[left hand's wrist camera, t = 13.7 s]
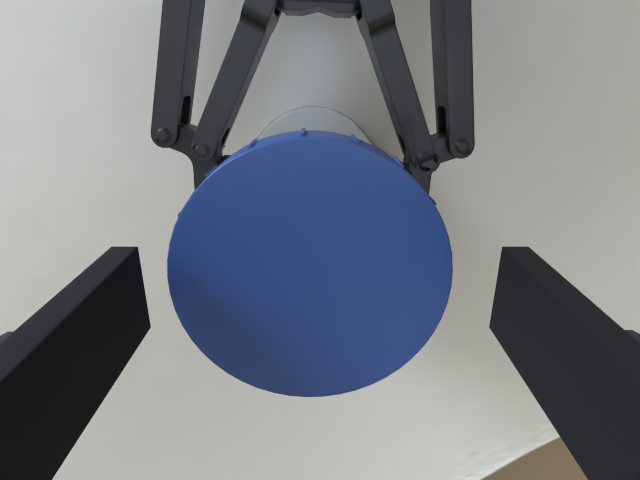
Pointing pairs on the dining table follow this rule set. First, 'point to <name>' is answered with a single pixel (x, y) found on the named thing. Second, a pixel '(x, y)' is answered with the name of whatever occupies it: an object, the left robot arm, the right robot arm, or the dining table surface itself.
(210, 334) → the lid
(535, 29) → the dining table surface
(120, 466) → the dining table surface
